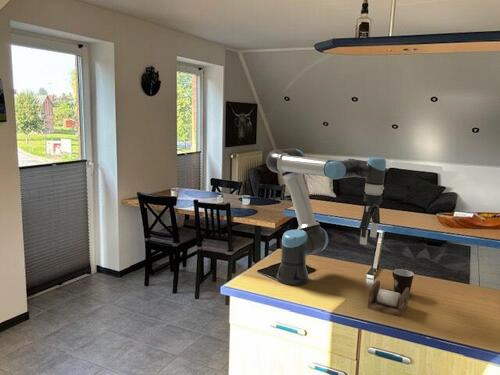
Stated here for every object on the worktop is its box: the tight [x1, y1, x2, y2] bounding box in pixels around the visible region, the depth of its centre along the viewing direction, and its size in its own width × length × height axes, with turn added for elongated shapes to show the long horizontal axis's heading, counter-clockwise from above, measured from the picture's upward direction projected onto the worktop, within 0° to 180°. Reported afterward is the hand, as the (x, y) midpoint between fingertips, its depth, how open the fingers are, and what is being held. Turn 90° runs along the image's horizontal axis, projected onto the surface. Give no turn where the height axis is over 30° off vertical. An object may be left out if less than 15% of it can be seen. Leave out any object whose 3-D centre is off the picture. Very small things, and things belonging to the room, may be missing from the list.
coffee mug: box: [392, 268, 415, 294], centre depth 190 cm, size 12×9×10 cm
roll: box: [377, 288, 401, 308], centre depth 174 cm, size 8×6×6 cm
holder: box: [367, 280, 410, 318], centre depth 174 cm, size 14×12×8 cm
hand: (368, 240), depth 185 cm, fingers open, 13 cm apart
